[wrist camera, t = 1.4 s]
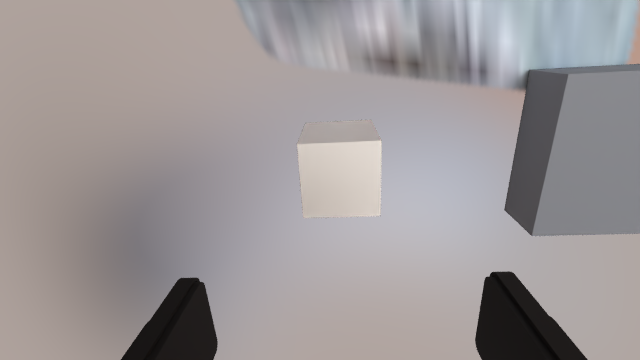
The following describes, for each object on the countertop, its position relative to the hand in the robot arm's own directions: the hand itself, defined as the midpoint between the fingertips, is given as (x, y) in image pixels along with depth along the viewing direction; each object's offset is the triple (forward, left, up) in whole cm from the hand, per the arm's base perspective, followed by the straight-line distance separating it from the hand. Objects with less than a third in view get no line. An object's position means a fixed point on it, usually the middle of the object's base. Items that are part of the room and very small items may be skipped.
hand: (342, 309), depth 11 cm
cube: (0, 0, -16) cm, 16 cm away
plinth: (0, +19, -16) cm, 25 cm away
